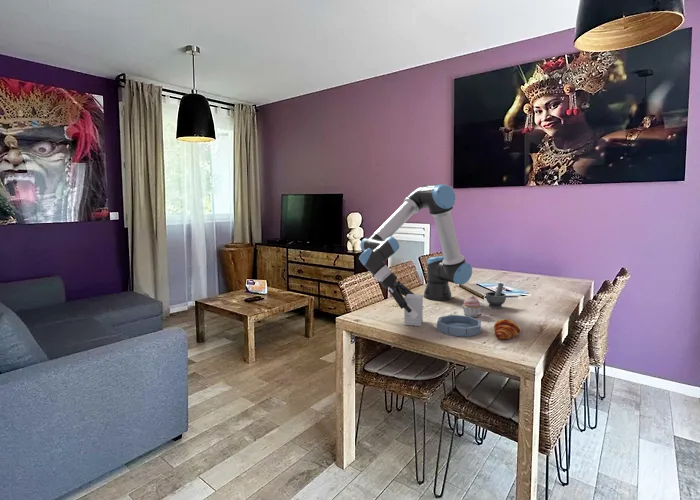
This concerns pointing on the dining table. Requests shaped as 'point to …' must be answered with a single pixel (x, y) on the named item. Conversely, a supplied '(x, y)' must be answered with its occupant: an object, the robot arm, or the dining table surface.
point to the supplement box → (417, 305)
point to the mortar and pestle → (496, 297)
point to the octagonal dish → (459, 325)
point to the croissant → (506, 329)
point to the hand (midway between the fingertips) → (419, 312)
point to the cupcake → (471, 307)
